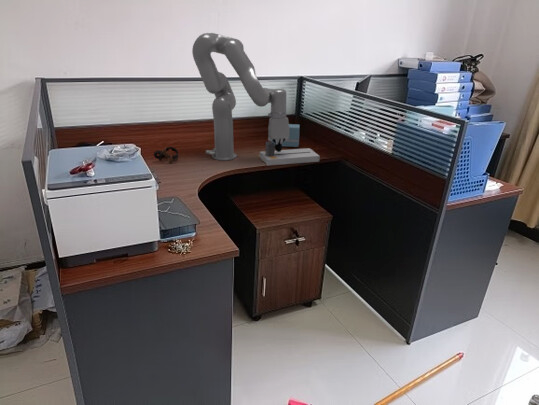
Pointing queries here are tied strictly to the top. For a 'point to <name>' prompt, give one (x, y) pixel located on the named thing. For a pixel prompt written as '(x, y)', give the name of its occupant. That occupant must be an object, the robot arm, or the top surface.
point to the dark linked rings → (166, 154)
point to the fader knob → (270, 148)
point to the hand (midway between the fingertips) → (278, 151)
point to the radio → (292, 136)
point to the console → (290, 156)
